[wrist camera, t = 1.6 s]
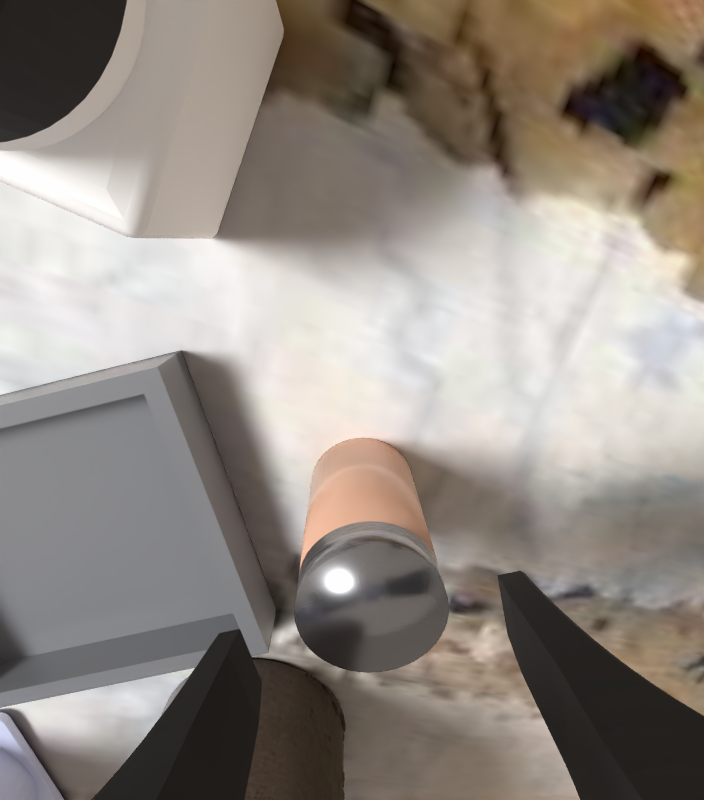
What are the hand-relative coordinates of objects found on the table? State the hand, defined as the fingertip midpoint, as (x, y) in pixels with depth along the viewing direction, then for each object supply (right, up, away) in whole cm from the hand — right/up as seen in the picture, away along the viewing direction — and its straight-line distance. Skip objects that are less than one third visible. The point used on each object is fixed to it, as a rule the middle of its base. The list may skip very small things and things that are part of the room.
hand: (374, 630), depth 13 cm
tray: (-13, +1, +8) cm, 15 cm away
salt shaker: (0, +3, +8) cm, 8 cm away
